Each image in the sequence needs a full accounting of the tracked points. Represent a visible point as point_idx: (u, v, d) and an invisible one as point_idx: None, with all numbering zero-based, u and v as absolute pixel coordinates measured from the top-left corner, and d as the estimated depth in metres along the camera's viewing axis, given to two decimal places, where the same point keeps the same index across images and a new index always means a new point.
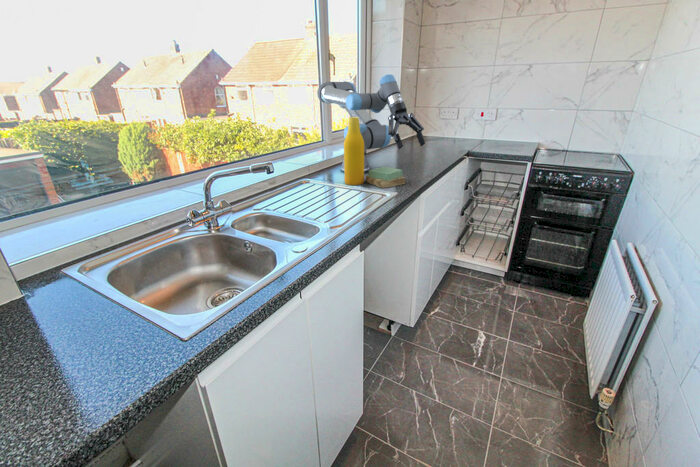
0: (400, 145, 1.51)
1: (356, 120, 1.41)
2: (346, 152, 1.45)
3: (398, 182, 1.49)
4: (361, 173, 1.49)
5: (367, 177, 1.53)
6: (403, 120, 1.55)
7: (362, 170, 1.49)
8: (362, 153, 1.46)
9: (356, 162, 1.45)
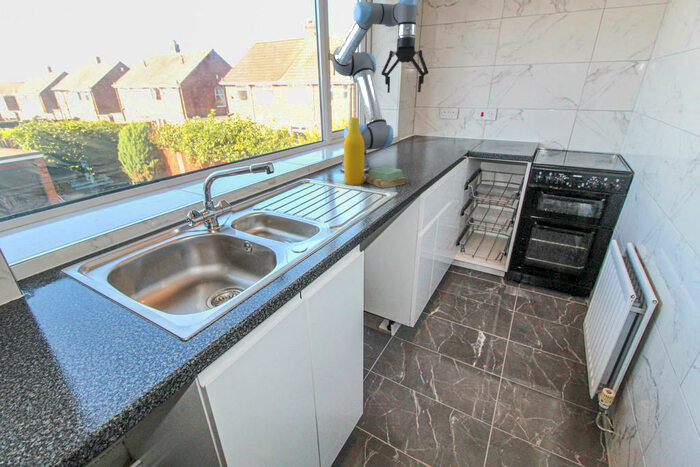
0: None
1: (356, 120, 1.41)
2: (346, 152, 1.45)
3: (398, 182, 1.49)
4: (361, 173, 1.49)
5: (367, 177, 1.53)
6: (404, 59, 1.41)
7: (362, 170, 1.49)
8: (362, 153, 1.46)
9: (356, 162, 1.45)
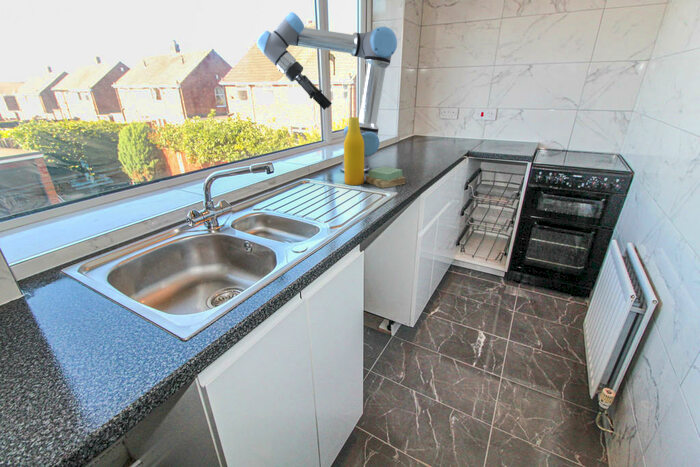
0: None
1: (356, 120, 1.41)
2: (346, 152, 1.45)
3: (398, 182, 1.49)
4: (361, 173, 1.49)
5: (367, 177, 1.53)
6: None
7: (362, 170, 1.49)
8: (362, 153, 1.46)
9: (356, 162, 1.45)
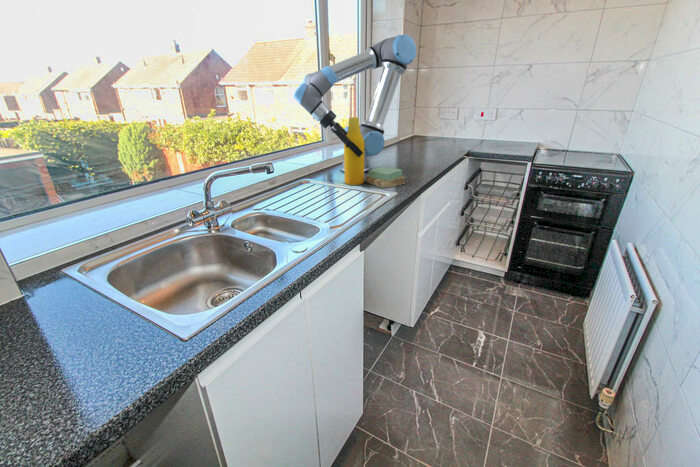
0: None
1: (356, 120, 1.41)
2: (346, 152, 1.45)
3: (398, 182, 1.49)
4: (361, 173, 1.49)
5: (367, 177, 1.53)
6: None
7: (362, 170, 1.49)
8: None
9: (356, 162, 1.45)
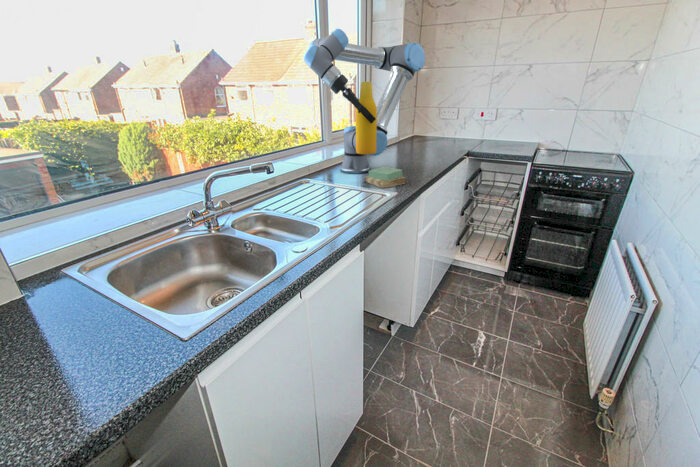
0: None
1: (368, 84, 1.35)
2: (358, 119, 1.39)
3: (398, 182, 1.49)
4: (373, 141, 1.43)
5: (367, 177, 1.53)
6: None
7: (374, 138, 1.43)
8: (375, 120, 1.40)
9: (368, 129, 1.40)
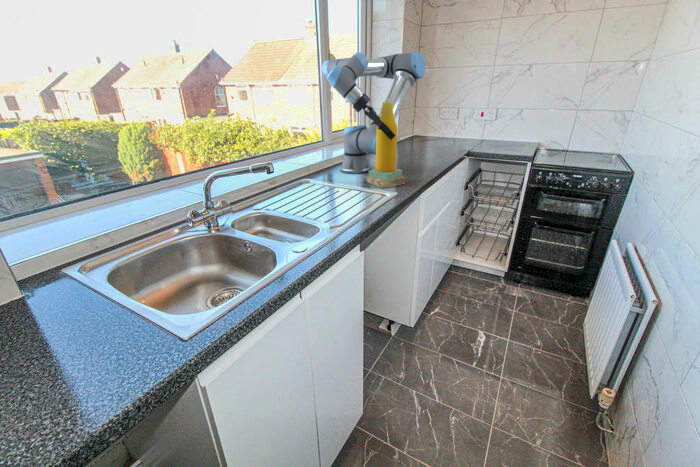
0: None
1: (390, 105, 1.38)
2: (379, 138, 1.42)
3: (398, 182, 1.49)
4: (393, 160, 1.46)
5: (367, 177, 1.53)
6: None
7: (394, 156, 1.46)
8: (395, 139, 1.43)
9: (389, 148, 1.42)
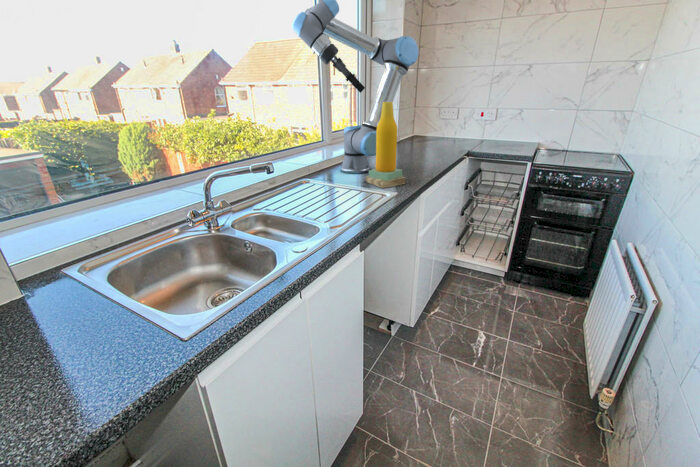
0: None
1: (390, 105, 1.38)
2: (379, 138, 1.42)
3: (398, 182, 1.49)
4: (393, 160, 1.46)
5: (367, 177, 1.53)
6: None
7: (394, 156, 1.46)
8: (395, 139, 1.43)
9: (389, 148, 1.42)
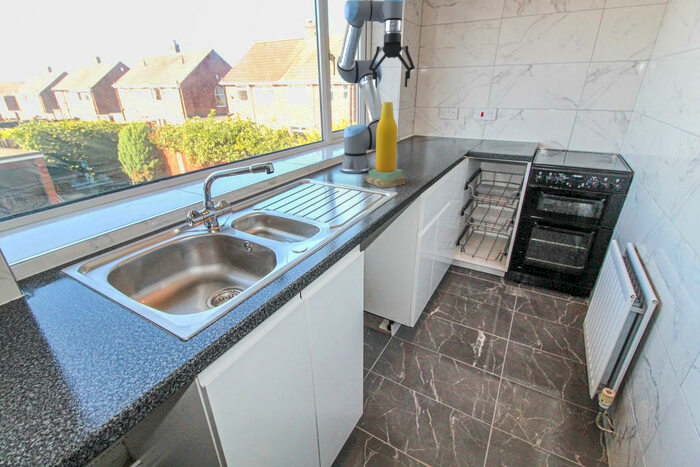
0: (375, 85, 1.49)
1: (390, 105, 1.38)
2: (379, 138, 1.42)
3: (398, 182, 1.49)
4: (393, 160, 1.46)
5: (367, 177, 1.53)
6: (391, 55, 1.44)
7: (394, 156, 1.46)
8: (395, 139, 1.43)
9: (389, 148, 1.42)
